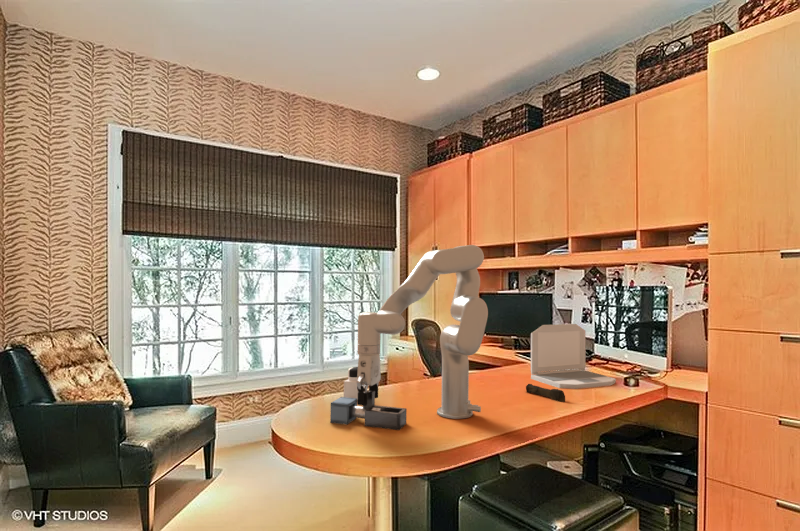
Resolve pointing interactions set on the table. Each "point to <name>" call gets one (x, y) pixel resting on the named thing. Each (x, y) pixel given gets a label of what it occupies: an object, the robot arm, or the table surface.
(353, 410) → the sliding bolt
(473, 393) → the table surface
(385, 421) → the sleeve
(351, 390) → the medicine bottle
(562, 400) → the hand tool
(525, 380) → the table surface
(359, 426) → the table surface
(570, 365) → the laptop
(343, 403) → the socket block
